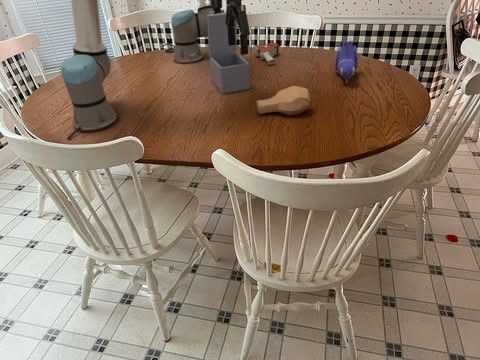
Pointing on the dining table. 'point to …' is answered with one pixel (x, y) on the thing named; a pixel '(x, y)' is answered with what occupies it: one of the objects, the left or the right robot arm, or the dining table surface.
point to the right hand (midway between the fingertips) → (217, 24)
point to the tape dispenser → (266, 52)
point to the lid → (219, 34)
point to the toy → (346, 60)
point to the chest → (230, 72)
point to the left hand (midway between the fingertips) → (238, 49)
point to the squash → (286, 101)
